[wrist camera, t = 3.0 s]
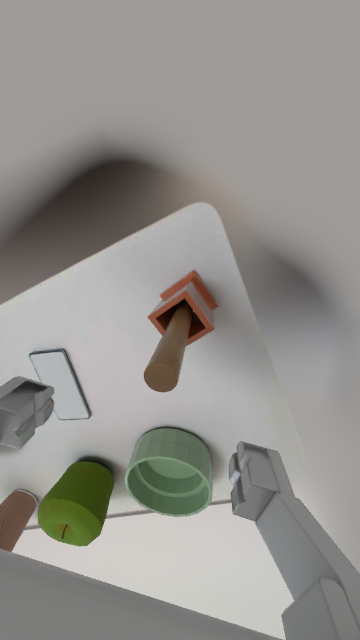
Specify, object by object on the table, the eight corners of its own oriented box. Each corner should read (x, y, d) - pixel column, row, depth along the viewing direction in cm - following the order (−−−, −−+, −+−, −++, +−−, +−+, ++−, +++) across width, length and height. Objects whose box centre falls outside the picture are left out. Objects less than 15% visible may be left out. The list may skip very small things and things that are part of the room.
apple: (100, 444, 42) (63, 510, 31) (132, 482, 45) (109, 555, 34) (58, 458, 45) (12, 523, 35) (90, 493, 48) (57, 562, 37)
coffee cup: (14, 507, 55) (-36, 574, 44) (1, 482, 51) (-56, 547, 40) (48, 512, 53) (6, 583, 42) (37, 487, 50) (-12, 556, 39)
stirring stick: (198, 302, 28) (184, 383, 11) (186, 310, 29) (157, 397, 12) (190, 290, 28) (163, 357, 11) (178, 298, 28) (136, 373, 12)
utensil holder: (218, 305, 29) (223, 331, 20) (184, 326, 30) (174, 359, 21) (194, 269, 27) (187, 280, 18) (160, 294, 29) (139, 315, 20)
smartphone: (62, 349, 34) (90, 419, 39) (64, 348, 34) (91, 416, 39) (27, 353, 35) (58, 420, 40) (29, 352, 36) (60, 418, 40)
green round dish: (226, 467, 39) (229, 504, 34) (166, 488, 44) (159, 524, 38) (181, 414, 36) (176, 444, 31) (121, 442, 41) (107, 473, 35)
